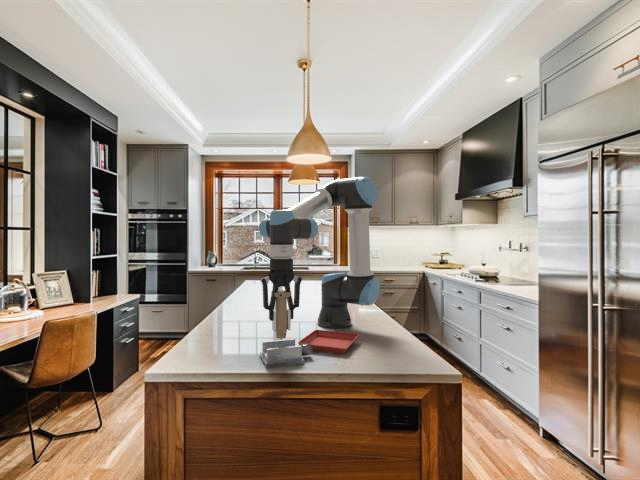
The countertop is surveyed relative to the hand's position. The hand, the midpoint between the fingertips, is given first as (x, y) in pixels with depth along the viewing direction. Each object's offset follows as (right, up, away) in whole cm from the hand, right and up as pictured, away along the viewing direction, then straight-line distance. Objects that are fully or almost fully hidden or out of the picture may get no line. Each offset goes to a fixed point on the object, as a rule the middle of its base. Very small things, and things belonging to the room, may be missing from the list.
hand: (281, 329), depth 120 cm
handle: (0, -3, 0) cm, 3 cm away
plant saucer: (+16, -10, +15) cm, 24 cm away
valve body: (+2, -10, +1) cm, 10 cm away
